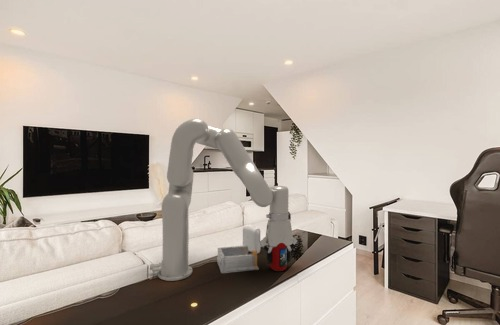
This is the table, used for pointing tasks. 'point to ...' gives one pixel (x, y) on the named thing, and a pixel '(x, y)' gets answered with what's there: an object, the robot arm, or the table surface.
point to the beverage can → (279, 257)
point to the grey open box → (236, 259)
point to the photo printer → (251, 237)
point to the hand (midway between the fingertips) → (278, 260)
